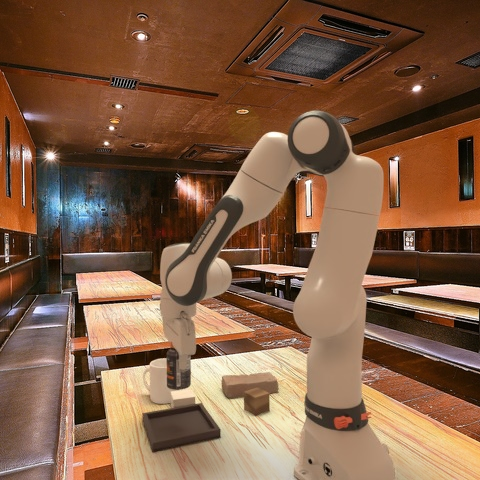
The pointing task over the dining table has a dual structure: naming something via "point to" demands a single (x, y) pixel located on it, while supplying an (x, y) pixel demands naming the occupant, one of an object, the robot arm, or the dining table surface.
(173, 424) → the tray
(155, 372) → the mug
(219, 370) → the dining table surface
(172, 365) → the pill bottle
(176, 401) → the ceramic block
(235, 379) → the brick
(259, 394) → the walnut cube
